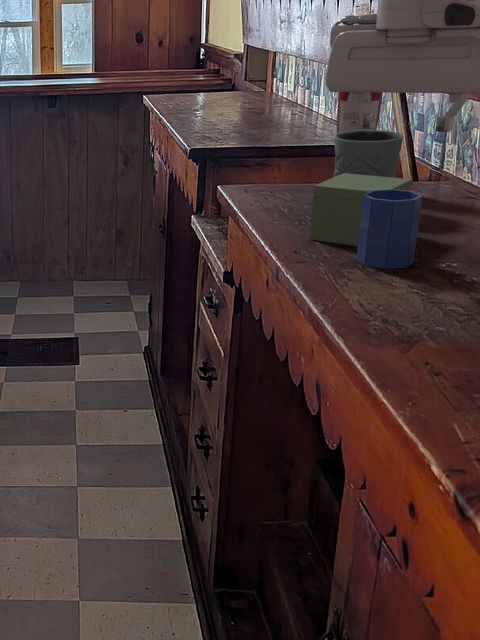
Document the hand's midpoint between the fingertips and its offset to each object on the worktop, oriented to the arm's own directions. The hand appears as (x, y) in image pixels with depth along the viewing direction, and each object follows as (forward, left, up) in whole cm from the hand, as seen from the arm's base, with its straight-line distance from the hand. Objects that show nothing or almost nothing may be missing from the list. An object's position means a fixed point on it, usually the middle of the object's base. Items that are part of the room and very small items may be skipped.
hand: (404, 129), depth 109 cm
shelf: (+8, -10, -17) cm, 22 cm away
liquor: (+22, -40, -18) cm, 49 cm away
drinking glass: (+14, -26, -18) cm, 34 cm away
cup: (0, 0, -17) cm, 17 cm away
